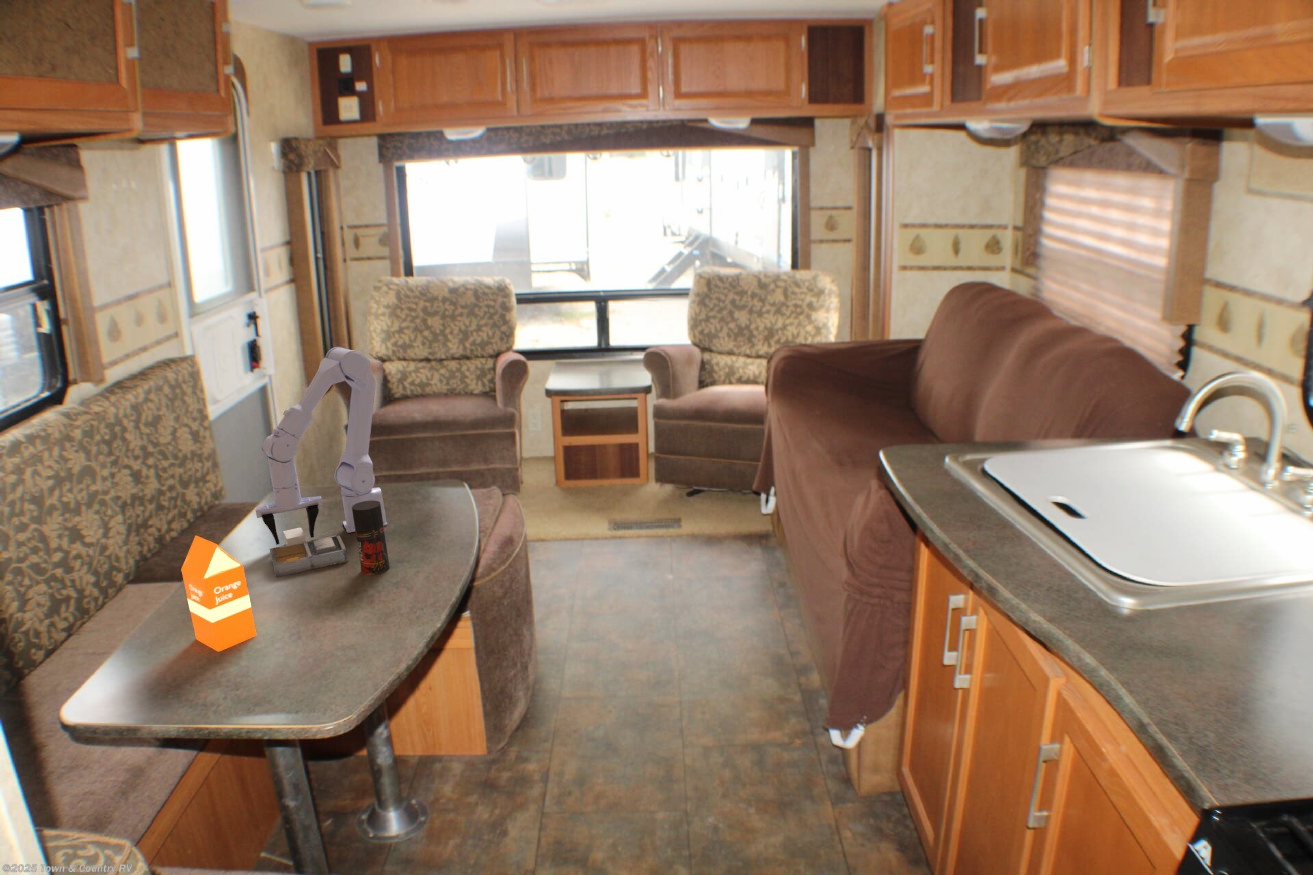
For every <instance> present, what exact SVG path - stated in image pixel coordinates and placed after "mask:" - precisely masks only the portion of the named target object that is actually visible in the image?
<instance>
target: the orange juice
mask: <svg viewBox="0 0 1313 875" xmlns="http://www.w3.org/2000/svg"><path fill="white" fill-rule="evenodd" d="M180 572H181V573H182V579H183V583H184V584H183V585H184V588H185V593H186V598H187V603H188V608H189V612H190V616H191V621H192V625H193V629H194V635H195V640H197V641H199V642H200V643H202V644H203V645H205V646H208V647H209V648H211V649H213V650H215V651H216V652H221V651H223V650H226V649H228V648H231V647H233V646H236V645H238V644H241V643H242V642H246V641H247V640H249V639H252V638H254V637H257V632H256V626H255V621H254V615H253V610H252V604H251V600H250V594H249V589H248V585H247V584H248V583H247V579H246V575H245V568H244V565H243V564H241V563H240V562H238V560H236V559H235V558H234V557H233V556H231V555H230V554H229V553H228V552H226V551H225V550H224V549H222V548H221V547H220V546H219V545H218V544H217V543H215V542H213V541H210V540H207V539H205V538H203V537H200V536H198V535H195V536H194V539H193V541H192V542H191V545H190V548H189V550H188V553H187V555H186V558H185V560H184V562H183V564H182V566H181V569H180Z"/></svg>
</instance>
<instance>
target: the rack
mask: <svg viewBox="0 0 1313 875" xmlns="http://www.w3.org/2000/svg"><path fill="white" fill-rule="evenodd" d="M269 553H270V558H271V563H272V568H273V571H274V576H275V578H279V577H283V576H287V574H288V575H291V574H292V575H293V574H297V573H302V572H305V570H307V571H310V569H311V570H314V568H316V569H319V568H318V567H320V568H324V567H323V566H325V567H327V566H326V565H330V566H333V565H332V564H334V563H339V564H342V563H341V562H343V563H345V562H344V561H348V562H349V559H348V558H349V557H348V552H347V549H346V546H345V544H344V542H343V540H342V538H341V536H340V534H334V535H331V536H326V537H321V538H316V539H312V540H311V539H310V540H306V541H305V542H301V543H296V544H291V545H286V544H285V545H282V546H276V547H273V548H269ZM334 565H335V564H334Z"/></svg>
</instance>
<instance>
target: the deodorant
mask: <svg viewBox="0 0 1313 875" xmlns="http://www.w3.org/2000/svg"><path fill="white" fill-rule="evenodd" d="M352 512H353V519H354V525H355V536H356V545H357V549H358V556H359V562H360V569H361V573H362V574H363V575H365V574H367V575H366V576H373V575H374V576H375V575H380V574H383V573H385V572H387V571H388V570H389V569H390V560H389V555H388V554H389V553H388V547H387V546H388V545H387V540H386V534H385V525H383V518H382V511H381V504H380V502H379V501H374V500H370V501H363V502H359V503H356V504H354V505H353V506H352Z"/></svg>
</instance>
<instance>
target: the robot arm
mask: <svg viewBox="0 0 1313 875" xmlns="http://www.w3.org/2000/svg"><path fill="white" fill-rule="evenodd" d="M370 365H371V360H370V359H369V358H368V357H367V356H366V355H365V354H364V353H362V351H360V350H359V351H358V350H355V349H354V350H352V349H348V348H344V347H342V346H335V347H332V348H330V349H329V350H328V351H327V353H326V354H325V357H323V359H322V360H321V361H320V362H319V367H318V370H317V372H315V375H314V377H313V378H312V380H311V382H310V384H309V385H308V387H307V389H306V390H305V392H304V393H303V396H302V397H301V399H300V401H299V403H298V404H295V405H292V406H290V407H289V408H288V409H285V410H284V411H283V412H282V415H283V417H282V419H281V420H280V422H279V423H278V424H277V426H276V428H273V430H272V431H271V433H272V434H270V435H268V436H267V437H266V438H265V439H264V441H263V444H262V447H261V452H262V454H263V455H264V456H265V457H267V462H268V468H269V475H270V476H269V477H270V481H271V487H272V492H273V497H274V502H273V503H272V502H271V503H270V504H266V505H262V506H258V507H255V508H254V510H255V515H256V518H257V519H262V522H263V524H265V526H266V527H267V528H268V530H269V531H270V533H271V535H272V537H273V539H274V541H275V545H280V540H279V535H278V532H277V526H276V520H275V516H274V515H276V514H280V513H287V512H291V511H296V510H303V509H305V511H306V515H307V516H306V517H307V522H308V532H309V536H310V539H311V538H314V537H315V533H314V532H315V526H316V521H317V518H318V515H319V512H320V511H319V510H320V509H319V507H322V506H324V505H323V498H322V496H321V495H318V496H309V497H308V496H307V497H302V496H301V488H300V483H299V477H298V473H297V472H298V471H297V464H296V461H295V456H296V455H297V454H298V443H299V442H300V441H301V439H302V438H303V436H304V435H305V433H306V431H307V430H308V427H309V426H310V424H311V423H312V422H313V420H314V419H313V418H314V417H313V411H314V410H315V408H316V407H317V406H318V404H319V403H320V401H321V400H322V399H323V397H324V396H325V394H326V393H327V392H328V390H330V388H331V386H332V385H336V384H338V383H342V382H346V383H347V384H348V386H350V388H351V395H350V402H349V412H348V420H347V421H348V422H347V429H346V430H347V432H346V441H345V450H344V452H343V454H341V456H340V457H339V463H338V465H337V467H336V468H335V471H334V481H335V482H336V484H337V485H339V486H340V488H341V490H340V494H341V498H342V506H343V511H344V512H343V513H344V518H345V520H343V521H342V524H343V526H344V528H345V530H346V532H347V533H354V532H355V525H354V519H353V512H352V506H353V505H354V504H356V503H359V502H363V501H370V500H374V501H379V502H380V504H381V511H382V518H383V525H384V526H387V525H388V522H387V517H386V510H385V504H384V498H383V493H382V490H381V487H378V486H377V487H374V485H375V482H376V478H375V477H376V476H375V474H374V470H373V469H374V464H373V461H372V459H371V457H370V455H369V451H370V450H369V449H370V442H371V433H372V432H371V431H372V421H373V415H374V414H373V412H374V402H375V394H376V385H377V383H376V379H375V376H374V374H373V371H372V369H371V366H370ZM355 533H356V532H355Z"/></svg>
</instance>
